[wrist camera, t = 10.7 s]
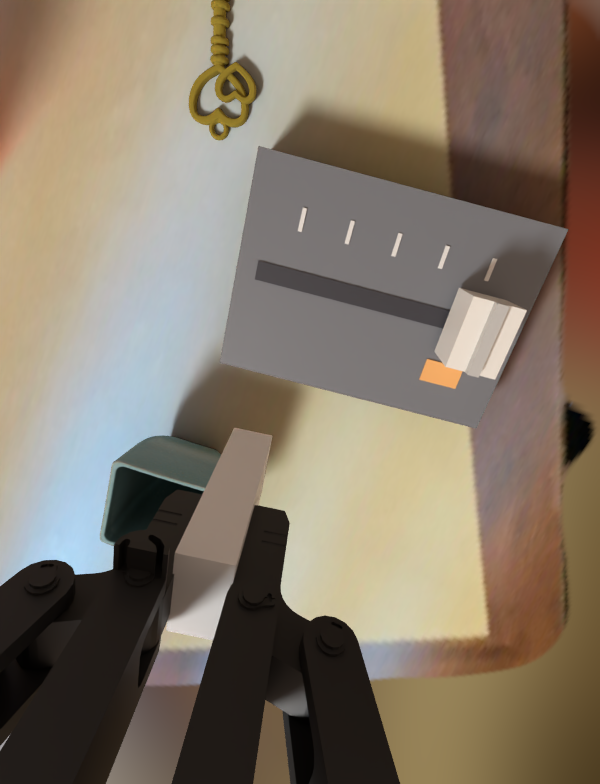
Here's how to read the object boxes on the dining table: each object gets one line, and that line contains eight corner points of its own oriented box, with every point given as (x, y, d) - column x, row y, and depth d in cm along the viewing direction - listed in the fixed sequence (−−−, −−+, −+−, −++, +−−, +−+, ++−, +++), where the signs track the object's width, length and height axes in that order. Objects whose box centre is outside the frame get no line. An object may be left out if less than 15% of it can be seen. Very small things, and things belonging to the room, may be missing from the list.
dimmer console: (267, 154, 33) (258, 145, 29) (542, 227, 33) (569, 229, 29) (230, 348, 39) (219, 363, 35) (462, 408, 39) (476, 429, 36)
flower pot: (155, 412, 42) (111, 460, 34) (241, 439, 42) (218, 493, 34) (141, 483, 45) (97, 542, 37) (220, 507, 46) (195, 571, 37)
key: (184, -79, 27) (261, -73, 27) (190, -67, 28) (265, -61, 28) (187, 136, 32) (253, 142, 32) (192, 138, 33) (256, 144, 33)
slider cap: (459, 287, 31) (476, 297, 27) (506, 300, 31) (530, 312, 27) (434, 351, 33) (447, 369, 29) (479, 363, 33) (498, 382, 29)
